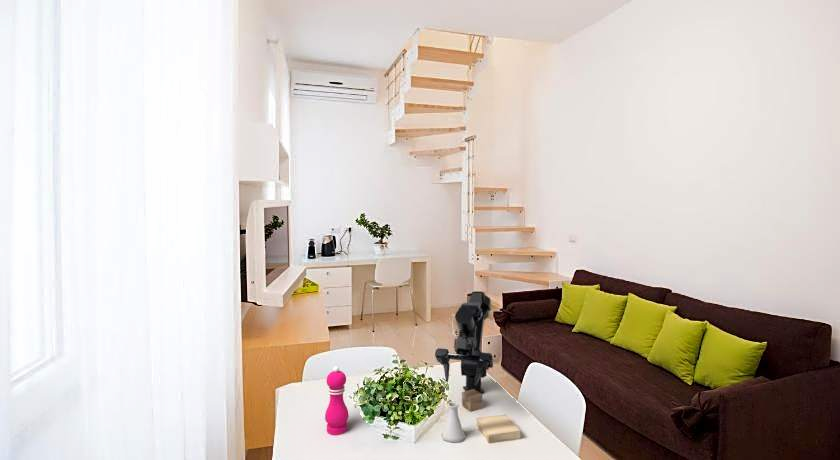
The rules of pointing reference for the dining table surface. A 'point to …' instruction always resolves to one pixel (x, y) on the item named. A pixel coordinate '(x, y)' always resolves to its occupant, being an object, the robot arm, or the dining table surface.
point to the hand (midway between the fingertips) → (460, 383)
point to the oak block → (498, 428)
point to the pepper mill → (336, 403)
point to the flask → (453, 425)
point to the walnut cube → (472, 400)
